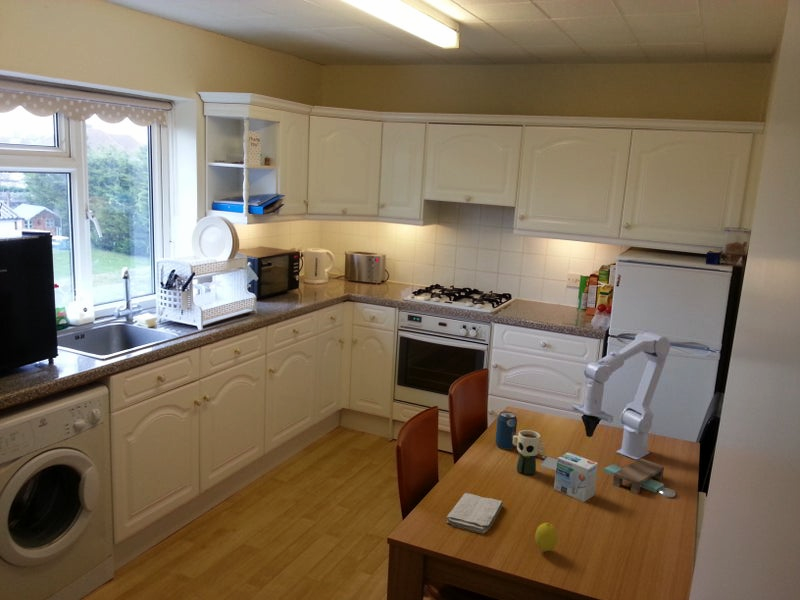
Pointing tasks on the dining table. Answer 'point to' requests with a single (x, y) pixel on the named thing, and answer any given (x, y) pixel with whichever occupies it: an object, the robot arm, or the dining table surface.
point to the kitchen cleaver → (547, 462)
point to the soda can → (506, 429)
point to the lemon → (546, 537)
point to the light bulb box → (575, 476)
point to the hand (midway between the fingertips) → (589, 436)
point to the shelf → (638, 474)
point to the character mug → (528, 450)
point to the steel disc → (666, 492)
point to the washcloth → (474, 513)
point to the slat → (647, 484)
